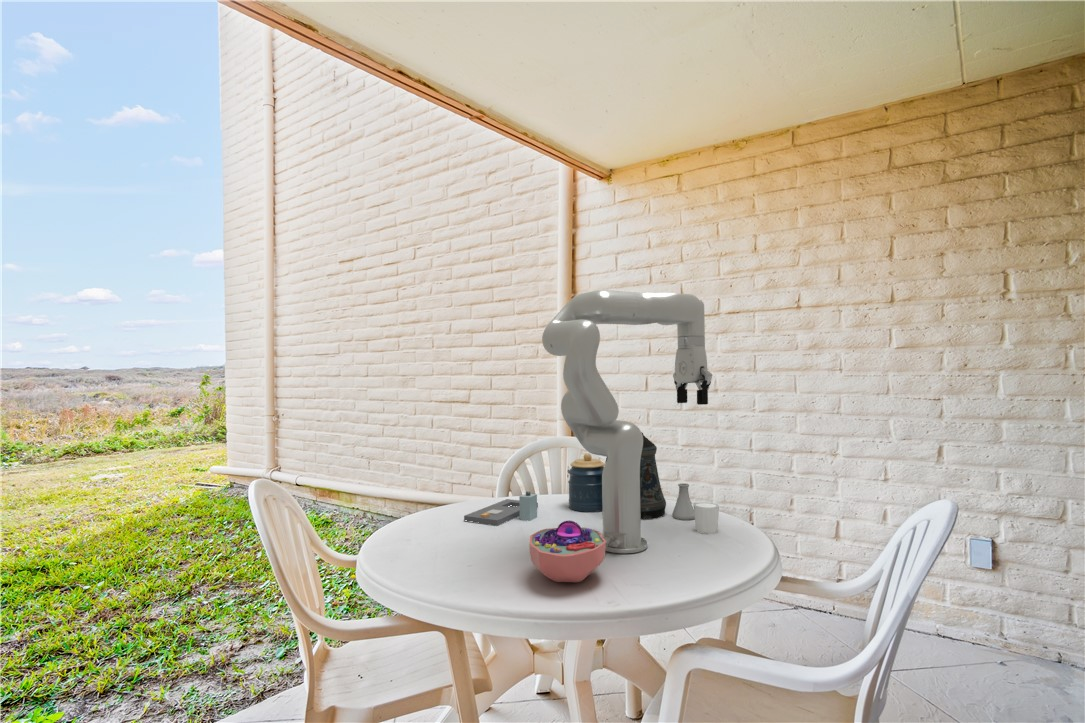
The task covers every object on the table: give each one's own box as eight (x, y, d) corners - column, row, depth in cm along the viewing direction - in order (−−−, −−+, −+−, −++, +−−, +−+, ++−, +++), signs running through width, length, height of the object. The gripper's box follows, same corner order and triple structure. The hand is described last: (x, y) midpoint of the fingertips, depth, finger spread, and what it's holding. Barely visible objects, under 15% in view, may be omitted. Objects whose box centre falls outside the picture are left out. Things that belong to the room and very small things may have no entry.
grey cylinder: (694, 533, 150) (693, 507, 150) (693, 526, 156) (692, 501, 156) (720, 534, 148) (720, 508, 148) (718, 527, 155) (718, 502, 155)
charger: (530, 520, 165) (529, 494, 165) (519, 519, 167) (519, 492, 167) (537, 517, 169) (536, 491, 169) (527, 516, 171) (526, 490, 171)
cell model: (515, 591, 112) (514, 535, 112) (543, 559, 131) (542, 511, 131) (597, 599, 107) (596, 541, 107) (614, 565, 126) (613, 515, 127)
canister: (592, 514, 171) (591, 457, 171) (560, 508, 180) (559, 453, 180) (616, 506, 181) (615, 452, 181) (585, 501, 189) (584, 449, 190)
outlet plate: (497, 525, 160) (497, 518, 160) (464, 521, 166) (464, 513, 166) (537, 507, 181) (537, 500, 181) (507, 503, 187) (506, 497, 187)
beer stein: (673, 509, 175) (671, 431, 176) (652, 524, 159) (650, 437, 159) (624, 504, 184) (623, 429, 184) (599, 518, 167) (598, 435, 168)
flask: (667, 515, 169) (667, 482, 169) (689, 513, 170) (689, 481, 171) (678, 521, 162) (677, 487, 162) (701, 519, 163) (700, 485, 164)
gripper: (663, 345, 164) (664, 402, 164) (698, 341, 148) (699, 405, 147) (684, 345, 167) (685, 402, 166) (721, 341, 150) (722, 404, 150)
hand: (692, 403), depth 157 cm, fingers open, 9 cm apart
